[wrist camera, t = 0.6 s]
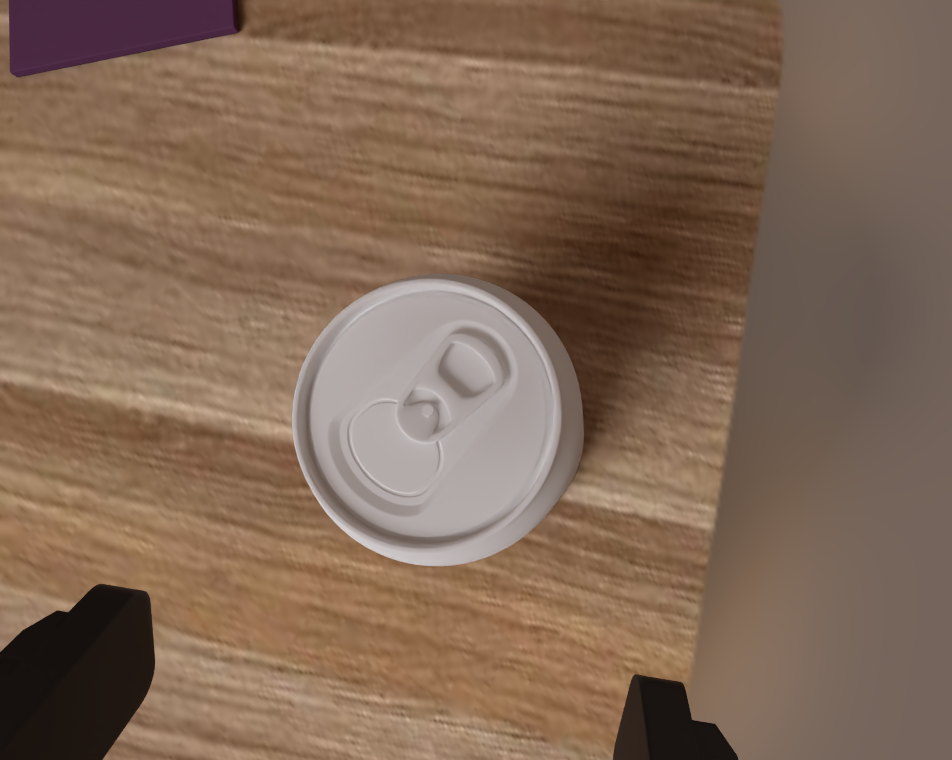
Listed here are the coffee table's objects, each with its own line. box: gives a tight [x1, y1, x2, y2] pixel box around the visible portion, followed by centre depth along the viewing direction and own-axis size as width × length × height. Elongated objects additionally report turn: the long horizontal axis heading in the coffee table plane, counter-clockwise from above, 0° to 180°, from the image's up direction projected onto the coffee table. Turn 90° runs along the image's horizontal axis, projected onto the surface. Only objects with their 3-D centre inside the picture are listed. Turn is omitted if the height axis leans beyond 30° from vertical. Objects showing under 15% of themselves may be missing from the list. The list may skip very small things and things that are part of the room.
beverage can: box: [292, 274, 584, 566], centre depth 24 cm, size 8×8×12 cm
